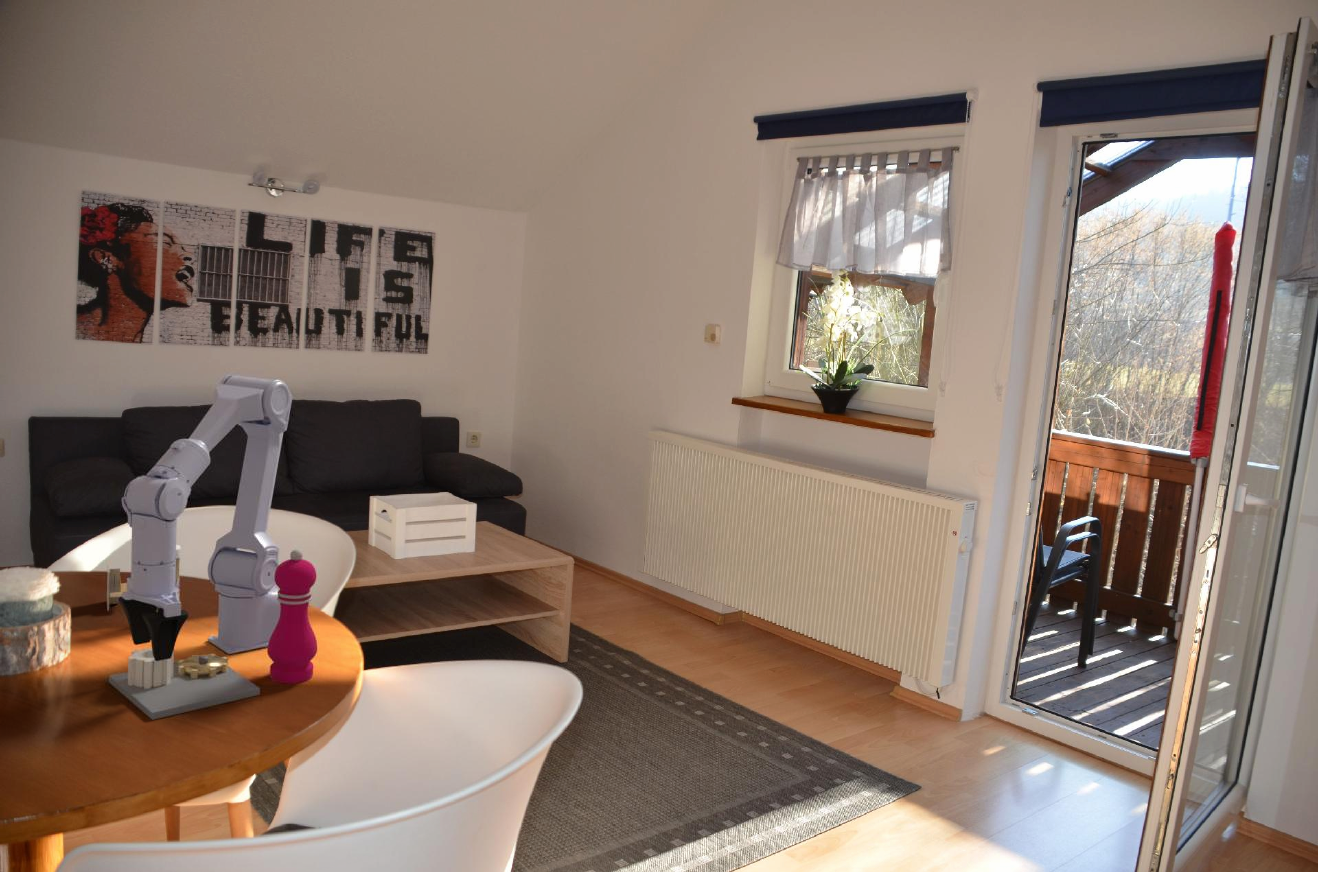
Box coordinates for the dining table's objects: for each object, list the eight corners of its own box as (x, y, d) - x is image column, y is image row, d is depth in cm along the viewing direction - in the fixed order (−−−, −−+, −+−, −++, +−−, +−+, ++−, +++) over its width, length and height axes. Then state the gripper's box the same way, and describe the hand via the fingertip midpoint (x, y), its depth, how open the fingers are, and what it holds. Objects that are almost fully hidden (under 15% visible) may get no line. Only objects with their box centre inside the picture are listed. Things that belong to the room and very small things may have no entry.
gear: (164, 670, 152) (165, 644, 151) (179, 682, 148) (180, 655, 147) (121, 678, 147) (122, 652, 147) (136, 691, 143) (136, 664, 143)
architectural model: (128, 602, 184) (129, 562, 183) (129, 614, 178) (130, 573, 177) (106, 603, 182) (107, 563, 181) (107, 615, 176) (108, 574, 175)
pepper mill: (269, 687, 151) (274, 556, 149) (263, 669, 158) (268, 544, 155) (319, 682, 155) (325, 555, 152) (312, 665, 161) (317, 542, 158)
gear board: (211, 661, 159) (212, 639, 159) (259, 694, 148) (260, 671, 148) (108, 681, 148) (109, 658, 148) (152, 719, 137) (152, 695, 137)
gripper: (105, 551, 147) (104, 641, 149) (144, 576, 137) (142, 672, 139) (155, 545, 152) (154, 632, 154) (197, 569, 142) (194, 661, 144)
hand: (152, 650), depth 147 cm, fingers open, 7 cm apart
